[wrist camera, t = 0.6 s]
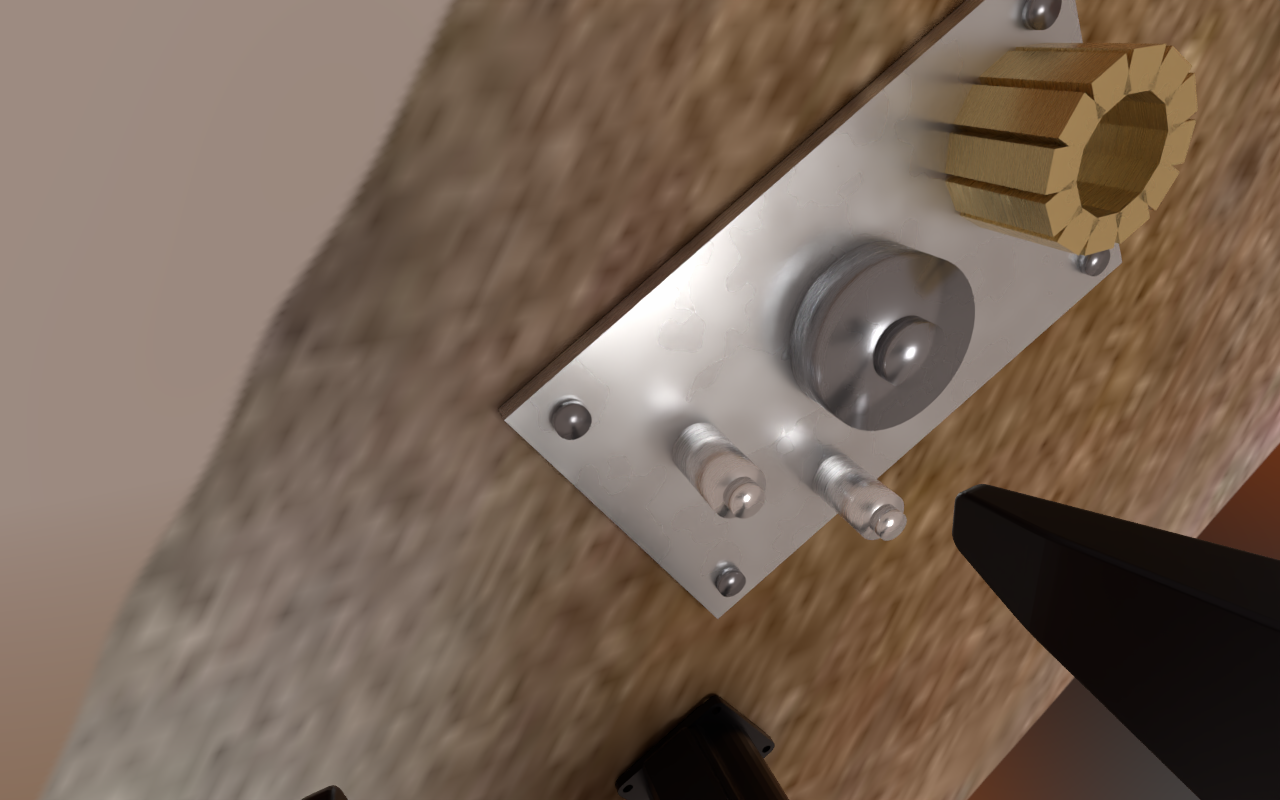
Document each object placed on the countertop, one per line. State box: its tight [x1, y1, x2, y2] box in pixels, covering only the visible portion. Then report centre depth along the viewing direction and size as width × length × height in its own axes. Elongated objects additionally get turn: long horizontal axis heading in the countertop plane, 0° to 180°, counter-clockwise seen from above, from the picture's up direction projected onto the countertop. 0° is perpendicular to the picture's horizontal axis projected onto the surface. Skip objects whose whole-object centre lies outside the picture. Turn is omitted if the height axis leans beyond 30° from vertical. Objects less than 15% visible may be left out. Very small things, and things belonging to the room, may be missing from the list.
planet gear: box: [945, 43, 1198, 256], centre depth 23 cm, size 6×6×4 cm
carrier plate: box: [499, 0, 1122, 619], centre depth 24 cm, size 14×23×4 cm, turn 125°
